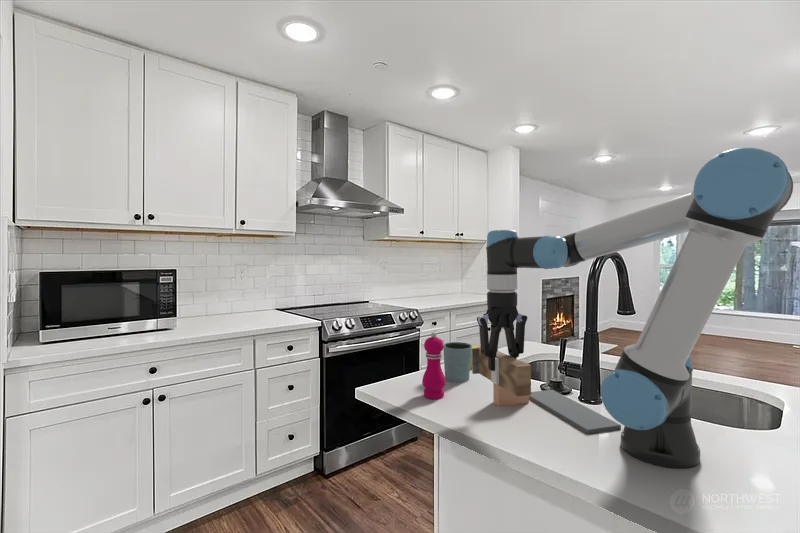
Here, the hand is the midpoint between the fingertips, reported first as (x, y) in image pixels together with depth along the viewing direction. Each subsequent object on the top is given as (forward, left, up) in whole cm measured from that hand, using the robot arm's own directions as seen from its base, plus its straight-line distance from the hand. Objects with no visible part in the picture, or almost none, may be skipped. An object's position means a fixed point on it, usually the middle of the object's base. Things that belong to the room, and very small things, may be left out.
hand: (502, 381), depth 107 cm
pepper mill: (+26, +9, -12) cm, 30 cm away
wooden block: (0, 0, 0) cm, 0 cm away
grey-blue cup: (+40, -5, -12) cm, 42 cm away
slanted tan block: (+14, -11, -12) cm, 21 cm away
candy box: (+54, -22, -12) cm, 59 cm away
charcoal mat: (+4, -23, -12) cm, 26 cm away
